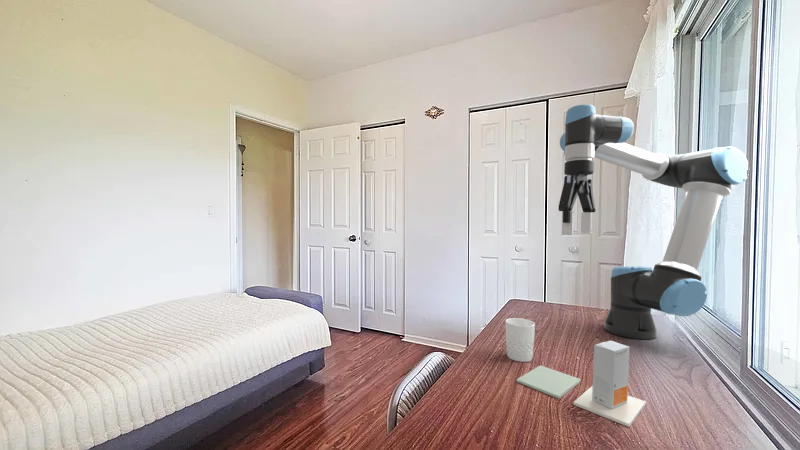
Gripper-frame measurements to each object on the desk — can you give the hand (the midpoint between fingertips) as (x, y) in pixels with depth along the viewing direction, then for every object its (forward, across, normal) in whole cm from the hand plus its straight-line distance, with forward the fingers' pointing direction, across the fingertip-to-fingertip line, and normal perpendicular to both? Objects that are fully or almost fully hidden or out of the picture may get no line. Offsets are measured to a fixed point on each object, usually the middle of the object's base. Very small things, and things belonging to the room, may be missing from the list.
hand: (577, 234), depth 98 cm
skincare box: (+34, +23, +16) cm, 44 cm away
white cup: (+35, +15, -9) cm, 39 cm away
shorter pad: (+35, +23, +3) cm, 42 cm away
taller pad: (+35, +23, +16) cm, 45 cm away
